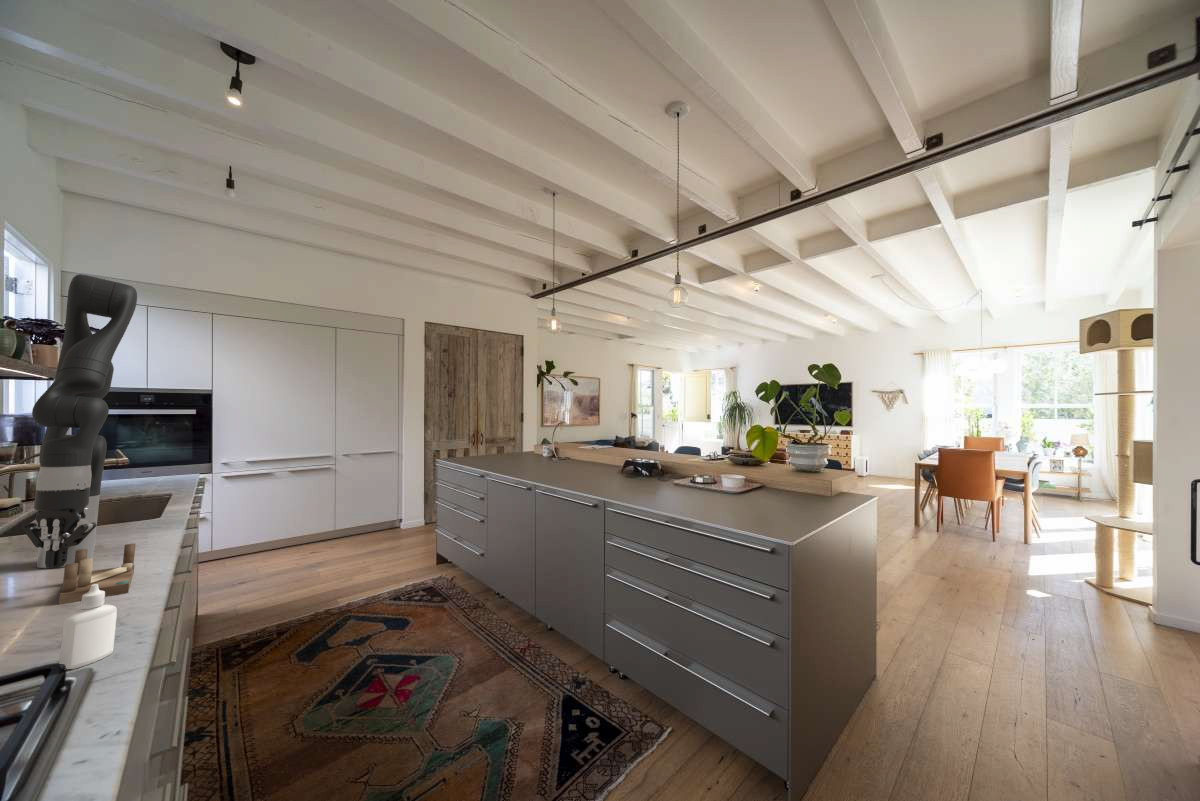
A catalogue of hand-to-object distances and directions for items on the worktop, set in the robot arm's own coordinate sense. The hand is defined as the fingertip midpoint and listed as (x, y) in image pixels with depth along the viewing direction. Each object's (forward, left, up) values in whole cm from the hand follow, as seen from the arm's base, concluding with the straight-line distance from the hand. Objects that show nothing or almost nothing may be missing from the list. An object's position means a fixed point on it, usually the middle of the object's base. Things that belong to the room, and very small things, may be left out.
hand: (55, 566), depth 93 cm
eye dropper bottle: (+42, +9, -6) cm, 44 cm away
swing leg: (+1, +8, -3) cm, 8 cm away
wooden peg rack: (0, +7, -6) cm, 9 cm away
